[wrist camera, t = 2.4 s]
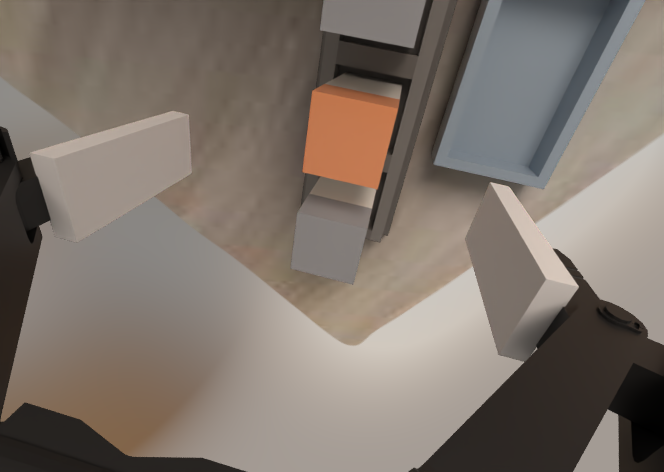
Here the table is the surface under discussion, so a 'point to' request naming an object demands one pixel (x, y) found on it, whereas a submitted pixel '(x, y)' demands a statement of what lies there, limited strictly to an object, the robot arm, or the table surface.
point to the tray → (528, 84)
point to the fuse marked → (351, 128)
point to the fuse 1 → (374, 19)
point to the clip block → (416, 79)
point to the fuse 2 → (332, 229)
